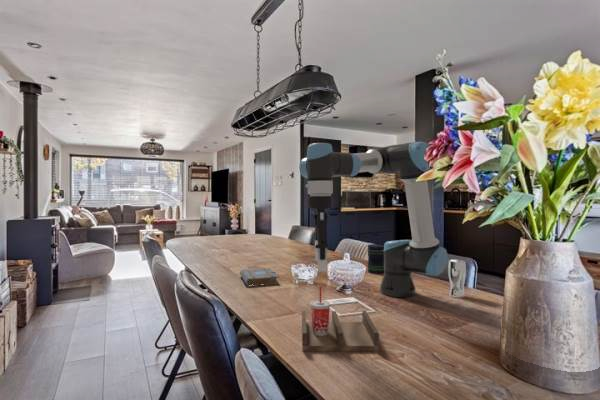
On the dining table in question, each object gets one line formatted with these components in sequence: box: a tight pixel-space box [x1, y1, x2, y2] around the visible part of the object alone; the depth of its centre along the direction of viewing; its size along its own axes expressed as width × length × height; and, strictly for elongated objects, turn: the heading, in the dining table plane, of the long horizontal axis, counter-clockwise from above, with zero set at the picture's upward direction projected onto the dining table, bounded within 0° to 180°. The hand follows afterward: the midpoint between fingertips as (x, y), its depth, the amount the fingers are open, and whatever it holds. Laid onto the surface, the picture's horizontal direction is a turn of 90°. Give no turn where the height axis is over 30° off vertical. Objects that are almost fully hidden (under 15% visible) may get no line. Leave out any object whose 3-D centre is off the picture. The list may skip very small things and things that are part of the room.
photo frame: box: [324, 296, 376, 318], centre depth 132 cm, size 15×1×18 cm
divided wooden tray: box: [301, 310, 380, 352], centre depth 103 cm, size 21×18×5 cm
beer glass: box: [447, 258, 467, 299], centre depth 146 cm, size 7×7×15 cm
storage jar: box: [367, 243, 384, 275], centre depth 192 cm, size 10×10×15 cm
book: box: [239, 267, 280, 287], centre depth 174 cm, size 21×16×5 cm
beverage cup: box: [310, 286, 331, 336], centre depth 103 cm, size 6×6×14 cm
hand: (320, 265), depth 103 cm, fingers open, 13 cm apart
